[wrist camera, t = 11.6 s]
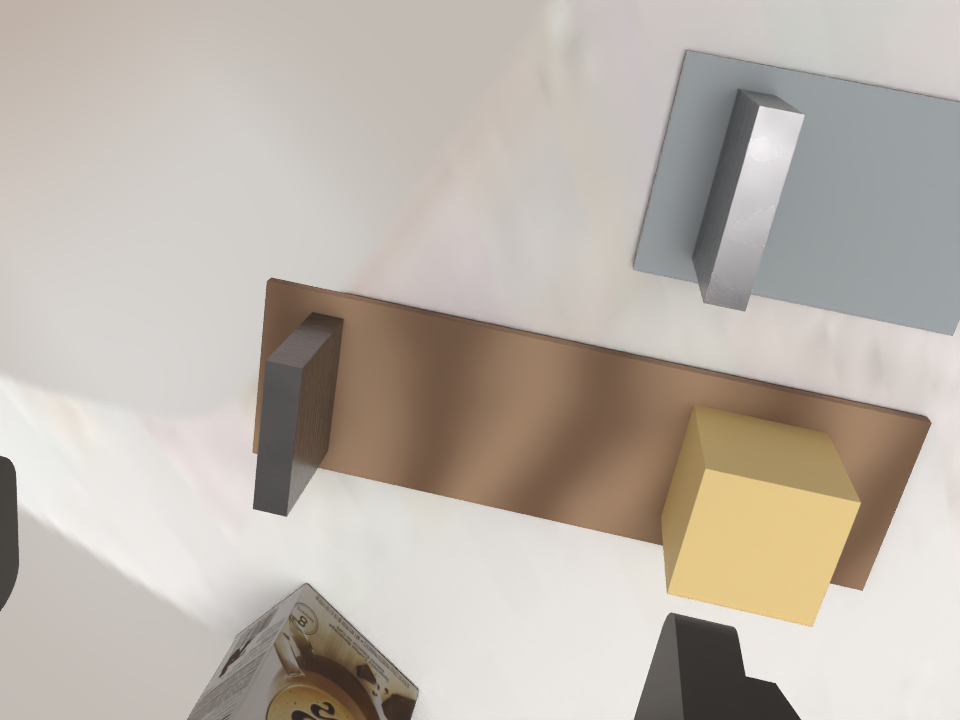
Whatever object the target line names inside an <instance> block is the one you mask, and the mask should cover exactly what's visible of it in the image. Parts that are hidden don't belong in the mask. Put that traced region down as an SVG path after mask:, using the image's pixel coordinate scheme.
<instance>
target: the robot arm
mask: <svg viewBox="0 0 960 720" xmlns="http://www.w3.org/2000/svg"><path fill="white" fill-rule="evenodd" d="M18 568H19V547H18V518H17V486H16V471H15V468H14V465H13V463H12V462H11V461H10V460H9V459H8V458H6V457H2V456H0V611H1V609H2V608H3V607H4V605H5V603H6V602H7V600H8V598H9V596H10V594H11V592H12V590H13V587H14V584H15V581H16V578H17V574H18ZM634 720H801V719H800V717H799V716H798V715H797V713H796V712H795V710H794V709H793V708H792V706H791V705H790V703H789V702H788V700H787V699H786V698H785V696H784V695H783V693H782V692H781V690H780V689H779V688H778V686H777V685H776V683H772V682H768V681H763V680H759V679H755V678H750V677H746V676H745V671H744V665H743V660H742V654H741V649H740V643H739V638H738V634H737V631H736V629H735V628H734V627H731V626H727V625H723V624H718V623H714V622H710V621H705V620H701V619H697V618H692V617H688V616H684V615H679V614H675V613H669V615H668V616H667V618H666V620H665V622H664V625H663V627H662V630H661V634H660V637H659V640H658V643H657V647H656V650H655V653H654V656H653V659H652V663H651V666H650V669H649V672H648V675H647V679H646V682H645V685H644V688H643V691H642V695H641V698H640V701H639V704H638V707H637V711H636V714H635V718H634Z"/></svg>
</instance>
